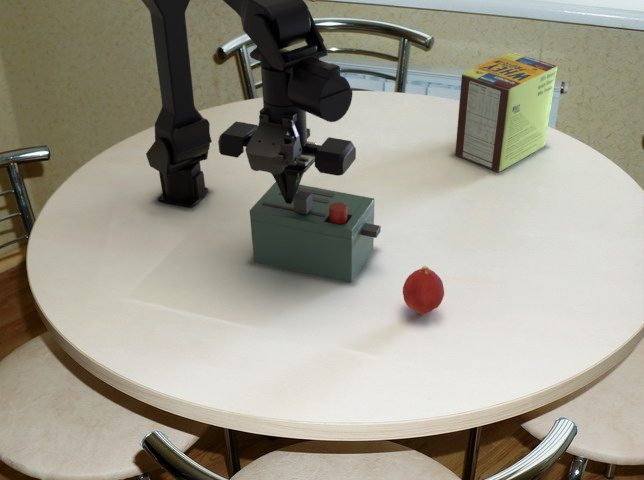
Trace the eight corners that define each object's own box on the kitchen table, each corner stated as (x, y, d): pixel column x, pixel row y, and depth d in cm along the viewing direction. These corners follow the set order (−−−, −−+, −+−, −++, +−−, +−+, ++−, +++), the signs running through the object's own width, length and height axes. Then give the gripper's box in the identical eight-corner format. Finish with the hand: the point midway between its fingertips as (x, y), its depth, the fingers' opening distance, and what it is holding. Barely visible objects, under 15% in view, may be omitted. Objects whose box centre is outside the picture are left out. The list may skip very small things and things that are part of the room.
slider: (293, 212, 124) (293, 197, 123) (300, 204, 126) (299, 190, 124) (306, 214, 124) (306, 200, 122) (312, 207, 125) (312, 192, 124)
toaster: (253, 262, 131) (249, 209, 125) (280, 230, 138) (277, 179, 132) (366, 286, 127) (367, 233, 121) (387, 252, 134) (389, 200, 128)
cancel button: (326, 222, 123) (326, 209, 122) (333, 214, 125) (333, 200, 124) (343, 226, 123) (343, 212, 121) (349, 217, 125) (349, 204, 123)
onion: (399, 301, 124) (402, 254, 119) (439, 300, 124) (443, 253, 119) (404, 325, 119) (406, 278, 114) (444, 324, 120) (449, 276, 115)
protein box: (545, 146, 163) (558, 65, 153) (498, 173, 154) (509, 89, 144) (500, 130, 168) (510, 50, 158) (453, 155, 160) (460, 72, 149)
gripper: (193, 110, 111) (206, 216, 121) (327, 133, 107) (328, 241, 117) (231, 80, 119) (241, 182, 129) (357, 100, 114) (356, 204, 125)
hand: (289, 202), depth 125 cm, fingers closed
